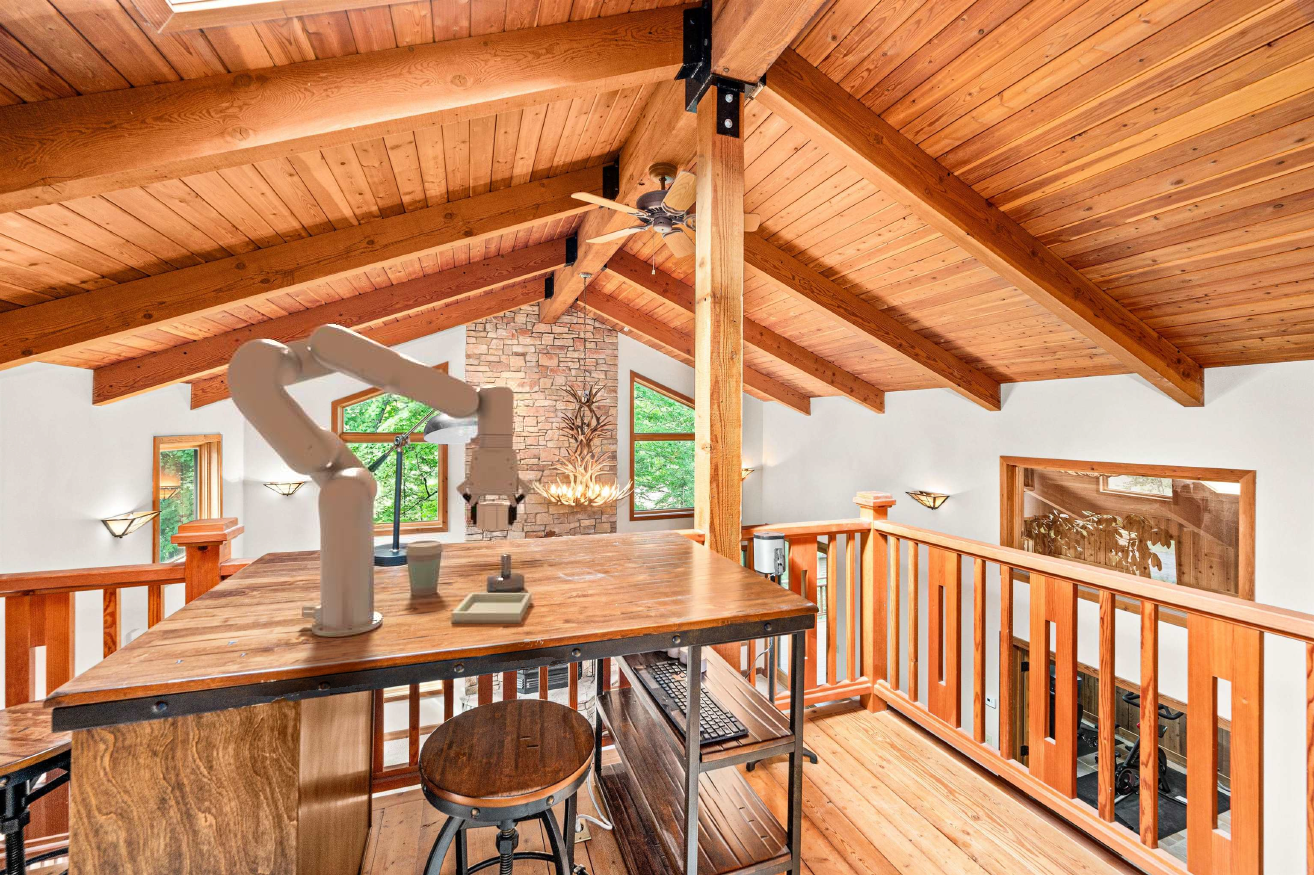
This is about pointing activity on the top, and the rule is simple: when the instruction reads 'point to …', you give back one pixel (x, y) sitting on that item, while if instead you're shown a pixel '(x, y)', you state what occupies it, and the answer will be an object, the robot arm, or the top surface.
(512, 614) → the tray
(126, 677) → the top surface
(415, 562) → the coffee cup
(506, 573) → the grey peg stand
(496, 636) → the top surface
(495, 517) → the collar
